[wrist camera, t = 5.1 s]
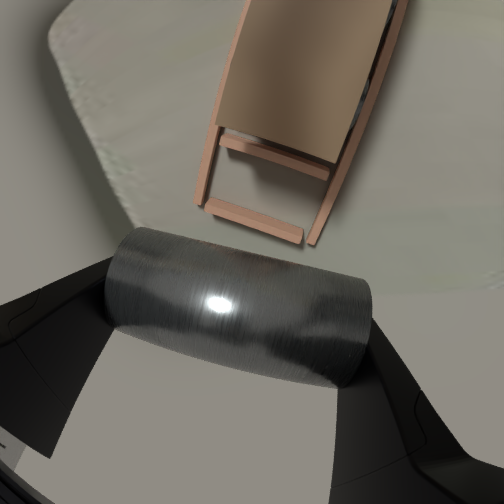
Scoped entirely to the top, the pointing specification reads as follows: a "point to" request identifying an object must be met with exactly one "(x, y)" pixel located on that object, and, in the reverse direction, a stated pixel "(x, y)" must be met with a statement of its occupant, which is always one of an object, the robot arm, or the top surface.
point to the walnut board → (302, 71)
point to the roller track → (287, 158)
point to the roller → (239, 308)
